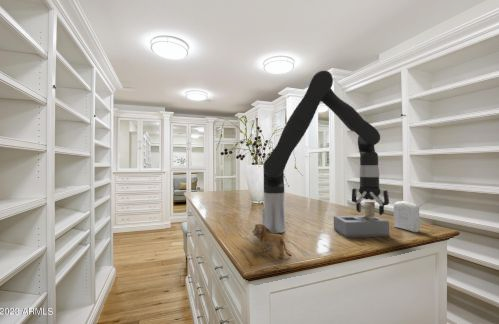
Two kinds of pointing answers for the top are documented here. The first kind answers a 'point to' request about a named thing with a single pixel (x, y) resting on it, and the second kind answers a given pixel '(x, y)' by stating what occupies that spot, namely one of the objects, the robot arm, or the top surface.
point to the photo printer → (406, 216)
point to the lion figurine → (269, 239)
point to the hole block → (361, 226)
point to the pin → (369, 210)
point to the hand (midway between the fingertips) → (369, 213)
